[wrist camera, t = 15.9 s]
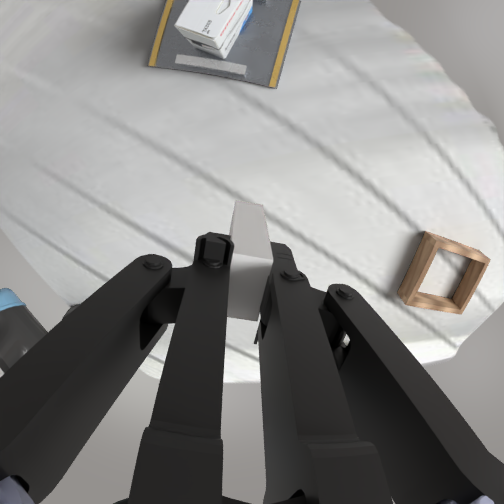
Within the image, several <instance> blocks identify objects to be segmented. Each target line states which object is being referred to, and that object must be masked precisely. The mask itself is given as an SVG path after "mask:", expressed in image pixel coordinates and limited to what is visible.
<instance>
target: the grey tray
mask: <svg viewBox="0 0 504 504" xmlns="http://www.w3.org/2000/svg"><path fill="white" fill-rule="evenodd" d="M188 1H189V0H166V3H165V6H164V9H163V12H162V15H161V18H160V21H159V25H158V28H157V31H156V35H155V38H154V42H153V46H152V49H151V53H150V57H149V61H148V65H147V66H150V67H160V68H169V69H177V70H185V71H192V72H198V73H204V74H210V75H216V76H222V77H227V78H232V79H237V80H242V81H246V82H251V83H255V84H259V85H264V86H268V87H272V88H276V89H277V86H278V83H279V79H280V75H281V72H282V68H283V64H284V61H285V57H286V53H287V50H288V46H289V42H290V39H291V35H292V32H293V28H294V25H295V21H296V17H297V14H298V10H299V7H300V3H301V1H300V0H253V4H252V13H251V14H250V16H249V18H248V19H247V21H246V23H245V25H244V26H243V28H242V30H241V31H240V33H239V35H238V37H237V38H236V40H235V42H234V44H233V46H232V48H231V49H230V51H229V53H228V55H227V57H226V58H225V59H222V58H220V57H217V56H215V55H212V54H210V53H207V52H205V51H202V50H200V49H197V48H195V47H194V46H193V45H192V44H191V43H190V42H189V41H188V40H187V39H186V38H185V37H184V36H183V35H182V34H181V33H180V32H179V30H178V29H177V28H176V27H175V26H174V25H175V23H176V21H177V20H178V18H179V16H180V14H181V13H182V11H183V9H184V8H185V6H186V4H187V3H188Z"/></svg>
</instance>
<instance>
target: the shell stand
mask: <svg viewBox="0 0 504 504" xmlns="http://www.w3.org/2000/svg"><path fill="white" fill-rule="evenodd" d="M438 248H441V249H444V250H447V251H450V252H453V253H456V254H459V255H462V256H465V257H468V258H471V259H472V260H471V262H470V264H469V266H468V268H467V270H466V272H465V274H464V276H463V278H462V280H461V282H460V284H459V286H458V288H457V290H456V292H455V294H454V295H453V297H452V299H450V298H445V297H440V296H436V295H431V294H426V293H421V292H417V291H418V289H419V287H420V285H421V283H422V281H423V279H424V277H425V275H426V273H427V271H428V269H429V267H430V265H431V263H432V261H433V259H434V257H435V254H436V252H437V250H438ZM489 262H490V259H489V258H488V257H487V256H485V255H484V254H483V253H482V252H481V251H479V250H477V249H474V248H471V247H469V246H466V245H463V244H461V243H458V242H455V241H452V240H449V239H447V238H444V237H441V236H438V235H435V234H432V233H430V232H427V231H425V233H424V236H423V238H422V240H421V243H420V245H419V247H418V250H417V252H416V254H415V256H414V258H413V261H412V263H411V265H410V267H409V269H408V271H407V273H406V275H405V278H404V280H403V282H402V284H401V286H400V288H399V290H398V292H397V293H398V295H399V296H400V298H401V299H402V301H403V302H404V303H405V305H408V306H414V307H420V308H426V309H431V310H437V311H443V312H449V313H455V314H462V313H463V311H464V309H465V308H466V306H467V304H468V302H469V301H470V299H471V297H472V295H473V293H474V292H475V290H476V288H477V286H478V284H479V282H480V280H481V278H482V276H483V274H484V272H485V270H486V268H487V266H488V264H489Z"/></svg>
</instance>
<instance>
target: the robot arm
mask: <svg viewBox="0 0 504 504" xmlns="http://www.w3.org/2000/svg"><path fill="white" fill-rule="evenodd" d="M259 313H260V315H261V319H260V323H259V326H258V330H257V334H256V337H255V341H254V344H257V341H258V342H259V360H260V378H261V394H262V411H263V412H262V413H263V431H264V449H265V467H266V492H265V496H264V500H263V504H393V502H392V499H393V500H394V502H395V504H504V464H503V463H502V462H501V461H499V460H498V459H497V458H496V457H494V456H493V455H492V454H491V453H489V452H488V451H487V449H486V448H485V446H484V445H483V444H482V442H481V441H480V439H479V438H478V437H477V435H476V434H475V433H474V431H473V430H472V429H471V427H470V426H469V425H468V423H467V422H466V421H465V419H464V418H463V417H462V416H461V414H460V413H459V412H458V410H457V409H456V408H455V407H454V405H453V404H452V403H451V402H450V400H449V399H448V398H447V396H446V395H445V394H444V393H443V391H442V390H441V389H440V388H439V386H438V385H437V384H436V383H435V381H434V380H433V379H432V378H431V376H430V375H429V374H428V373H427V372H426V370H425V369H424V368H423V367H422V365H421V364H420V363H419V362H418V361H417V359H416V358H415V357H414V356H413V355H412V353H411V352H410V351H409V350H408V349H407V347H406V346H405V345H404V344H403V343H402V342H401V340H400V339H399V338H398V337H397V336H396V335H395V333H394V332H393V331H392V330H391V329H390V328H389V326H388V325H387V324H386V323H385V322H384V321H383V320H382V318H381V317H380V316H379V315H378V314H377V313H376V312H375V310H374V309H373V308H372V307H371V306H370V305H369V304H368V303H367V301H366V300H365V299H364V298H363V297H362V296H361V295H360V294H359V293H358V292H357V291H356V290H355V289H353V288H351V287H350V286H348V285H345V284H332V285H330V286H329V287H328V290H327V292H324V291H320V290H317V289H315V288H312V287H310V284H309V281H308V278H307V277H306V275H305V274H303V273H302V272H300V271H298V270H297V267H296V264H295V261H294V258H293V255H292V252H291V249H290V248H289V247H287V246H286V245H285V244H281V243H275V242H270V239H269V234H268V229H267V224H266V218H265V213H264V208H263V205H260V204H255V203H249V202H244V201H238V200H236V201H235V206H234V211H233V216H232V222H231V227H230V232H229V235H224V234H219V233H213V232H208V233H207V234H205V235H201V236H199V237H198V238H197V239H196V246H195V254H194V261H193V264H192V265H190V266H188V267H183V268H172V263H171V261H170V260H168V259H167V258H165V257H163V256H159V255H156V254H153V255H152V254H148V255H143V256H140V257H138V258H136V259H135V260H134V261H133V262H131V263H130V264H129V265H128V266H126V267H125V268H124V269H123V270H121V271H120V272H119V273H118V274H116V275H115V276H114V277H113V278H111V279H110V280H109V281H108V282H107V283H105V284H104V285H103V286H102V287H100V288H99V289H98V290H97V291H96V292H94V293H93V294H92V295H91V296H90V297H88V298H87V299H86V300H85V301H84V302H83V303H81V304H80V305H75V306H73V307H71V308H70V309H69V310H68V311H67V313H66V314H65V315H64V317H63V319H62V321H61V322H59V323H58V324H57V325H56V326H55V327H54V328H53V329H52V330H50V331H49V332H47V331H46V330H45V329H44V328H43V326H42V325H41V324H40V323H39V322H38V321H37V319H36V318H35V317H34V316H33V315H32V313H31V312H30V311H29V310H28V309H27V307H26V304H25V303H23V302H22V301H21V300H20V299H19V298H18V297H17V296H16V294H15V293H14V292H13V291H12V290H11V289H9V288H2V289H0V504H39V503H40V502H41V501H43V499H45V498H46V496H48V495H49V494H50V493H51V492H52V491H53V489H54V488H55V487H56V485H57V484H58V483H59V481H60V480H61V479H62V478H63V476H64V475H65V473H66V472H67V470H68V468H69V467H70V466H71V464H72V463H73V461H74V460H75V458H76V457H77V455H78V454H79V452H80V451H81V449H82V448H83V446H84V445H85V443H86V442H87V440H88V439H89V438H90V436H91V435H92V433H93V432H94V431H95V429H96V428H97V426H98V425H99V423H100V422H101V420H102V419H103V418H104V416H105V415H106V413H107V412H108V410H109V409H110V408H111V406H112V405H113V403H114V402H115V400H116V399H117V398H118V396H119V395H120V393H121V392H122V390H123V389H124V388H125V386H126V385H127V383H128V382H129V381H130V379H131V378H132V377H133V375H134V374H135V372H136V371H137V369H138V368H139V367H140V365H141V364H142V363H143V361H144V360H145V358H146V357H147V356H148V354H149V353H150V351H151V350H152V349H153V347H154V346H155V345H156V343H157V342H158V340H159V339H160V338H161V336H162V335H163V334H164V332H165V331H166V329H167V327H168V323H175V326H174V330H173V333H172V337H171V341H170V345H169V348H168V352H167V356H166V360H165V364H164V368H163V372H162V375H161V379H160V383H159V388H158V392H157V396H156V400H155V404H154V408H153V413H152V417H151V421H150V424H149V427H146V428H145V430H144V432H143V435H142V439H141V442H140V447H139V452H138V456H137V460H136V466H135V470H134V475H133V480H132V485H131V490H130V495H129V498H127V499H124V500H121V501H118V502H116V503H114V504H250V503H246V502H242V501H239V500H235V499H231V498H228V497H225V496H222V472H223V441H222V439H221V411H222V392H223V374H224V356H225V340H226V324H227V317H231V318H237V319H244V320H251V321H258V317H259ZM346 334H347V335H348V337H349V339H350V341H349V344H348V345H347V346H346V345H345V344H344V342H343V340H344V338H345V336H346ZM391 497H392V498H391Z"/></svg>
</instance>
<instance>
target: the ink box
mask: <svg viewBox="0 0 504 504" xmlns="http://www.w3.org/2000/svg"><path fill="white" fill-rule="evenodd" d="M252 4H253V0H189V1H188V3H187V4H186V6H185V8H184V9H183V11H182V13H181V14H180V16H179V18H178V20H177V21H176V23H175V25H174V26H175V27H176V28H177V29H178V30H179V32H180V33H181V34H182V35H183V36H184V37H185V38H186V39H187V40H188V41H189V42H190V43H191V44H192V45H193V46H194V47H195V48H197V49H200V50H202V51H205V52H207V53H210V54H212V55H215V56H217V57H220V58H222V59H225V58H226V57H227V55H228V53H229V51H230V49H231V48H232V46H233V44H234V42H235V40H236V38H237V37H238V35H239V33H240V31H241V30H242V28H243V26H244V25H245V23H246V21H247V19H248V18H249V16H250V14H251V13H252Z"/></svg>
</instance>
